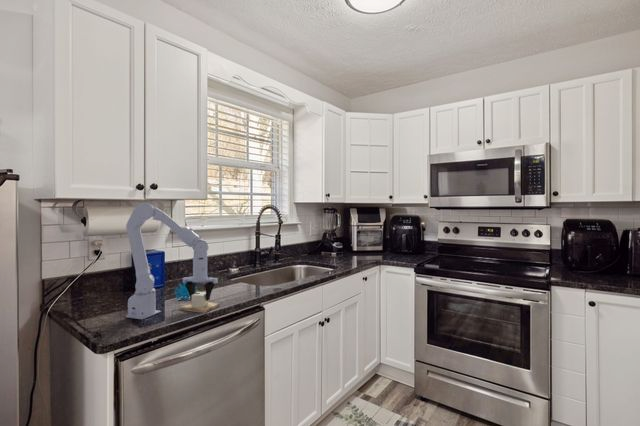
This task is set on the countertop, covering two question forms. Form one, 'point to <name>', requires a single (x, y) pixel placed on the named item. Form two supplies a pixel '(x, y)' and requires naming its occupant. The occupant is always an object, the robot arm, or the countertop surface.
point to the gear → (183, 292)
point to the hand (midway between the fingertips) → (200, 299)
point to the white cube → (199, 299)
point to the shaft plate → (200, 309)
